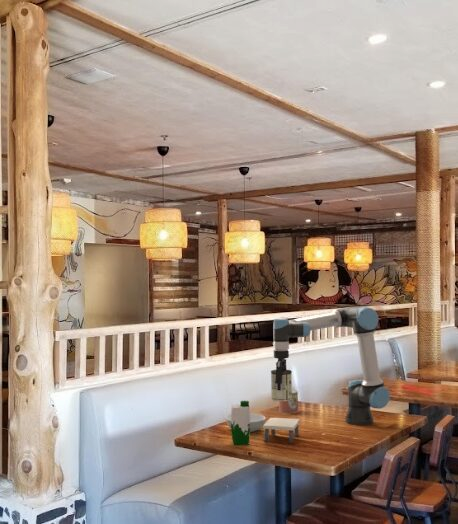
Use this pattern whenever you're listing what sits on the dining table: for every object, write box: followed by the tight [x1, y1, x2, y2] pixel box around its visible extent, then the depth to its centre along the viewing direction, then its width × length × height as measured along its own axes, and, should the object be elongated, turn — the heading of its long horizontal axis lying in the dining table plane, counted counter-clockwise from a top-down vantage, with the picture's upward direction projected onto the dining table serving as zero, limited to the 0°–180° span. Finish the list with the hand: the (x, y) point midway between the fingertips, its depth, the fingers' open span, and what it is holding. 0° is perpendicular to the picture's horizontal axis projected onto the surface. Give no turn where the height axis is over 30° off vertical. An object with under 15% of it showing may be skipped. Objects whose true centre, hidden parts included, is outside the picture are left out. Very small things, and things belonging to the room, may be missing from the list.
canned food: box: [278, 389, 299, 414], centre depth 365 cm, size 11×11×12 cm
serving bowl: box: [225, 413, 267, 433], centre depth 319 cm, size 21×21×7 cm
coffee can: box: [270, 369, 293, 402], centre depth 302 cm, size 10×10×14 cm
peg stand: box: [262, 417, 301, 445], centre depth 301 cm, size 15×18×8 cm
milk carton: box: [230, 400, 251, 446], centre depth 293 cm, size 9×9×20 cm
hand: (281, 394), depth 302 cm, fingers closed on coffee can, 10 cm apart
